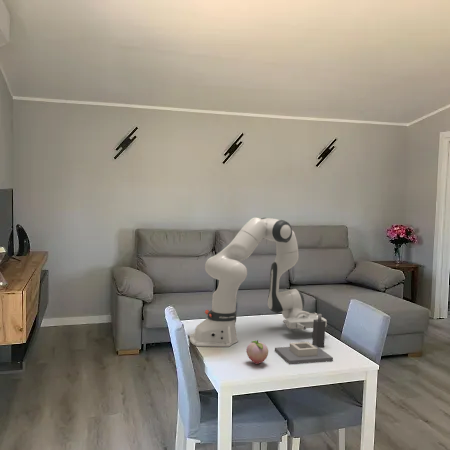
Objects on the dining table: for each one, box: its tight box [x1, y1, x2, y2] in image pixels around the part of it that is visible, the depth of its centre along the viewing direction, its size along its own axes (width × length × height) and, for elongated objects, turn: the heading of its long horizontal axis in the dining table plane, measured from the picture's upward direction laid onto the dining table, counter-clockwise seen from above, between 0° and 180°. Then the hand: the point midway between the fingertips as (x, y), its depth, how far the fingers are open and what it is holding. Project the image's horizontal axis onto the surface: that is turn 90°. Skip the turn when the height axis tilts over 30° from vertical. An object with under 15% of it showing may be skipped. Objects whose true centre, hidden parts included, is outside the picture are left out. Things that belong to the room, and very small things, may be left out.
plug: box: [311, 313, 326, 348], centre depth 216 cm, size 4×4×15 cm
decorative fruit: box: [245, 339, 269, 365], centre depth 191 cm, size 9×8×10 cm
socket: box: [274, 341, 334, 365], centre depth 202 cm, size 20×16×4 cm
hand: (313, 327), depth 222 cm, fingers open, 8 cm apart
